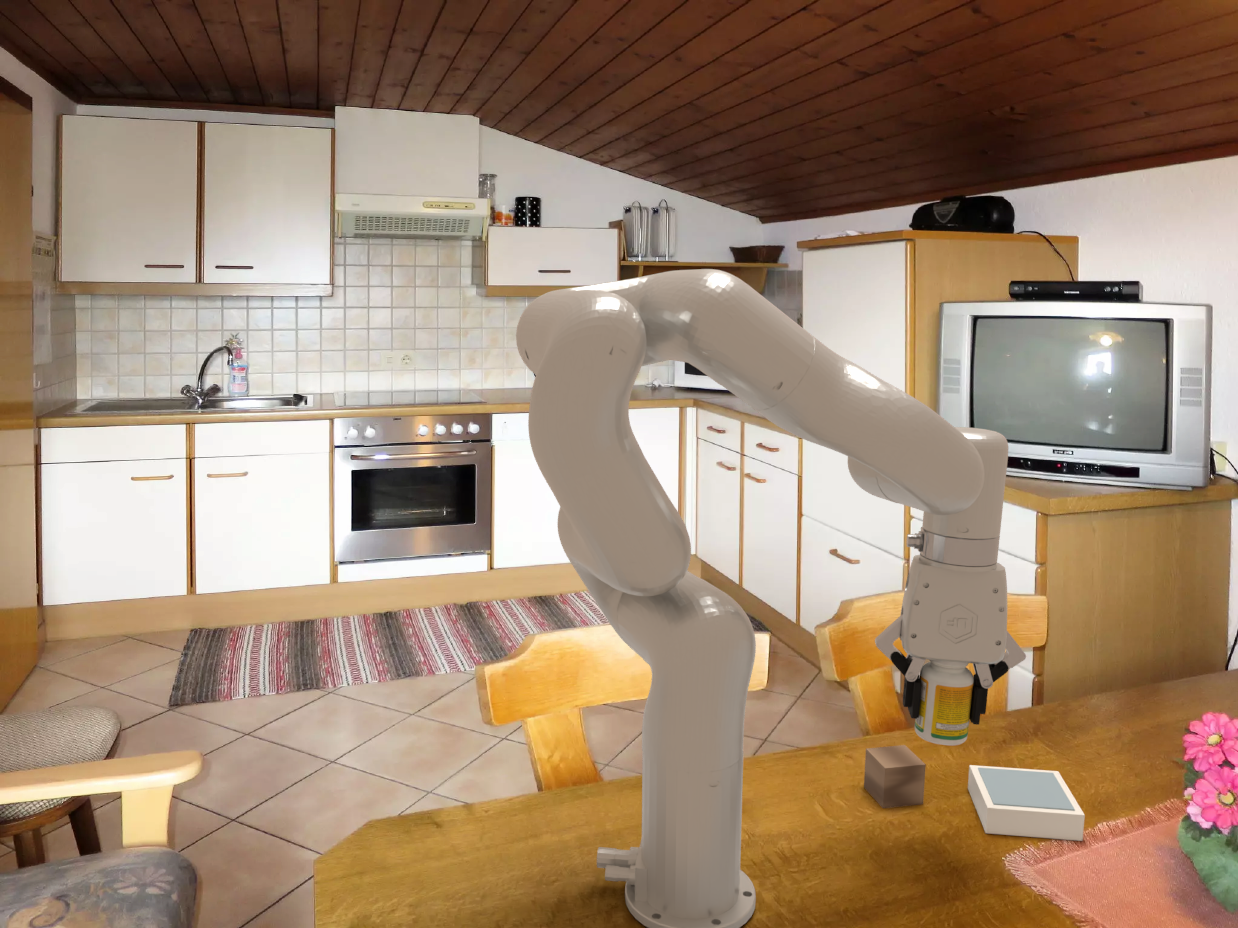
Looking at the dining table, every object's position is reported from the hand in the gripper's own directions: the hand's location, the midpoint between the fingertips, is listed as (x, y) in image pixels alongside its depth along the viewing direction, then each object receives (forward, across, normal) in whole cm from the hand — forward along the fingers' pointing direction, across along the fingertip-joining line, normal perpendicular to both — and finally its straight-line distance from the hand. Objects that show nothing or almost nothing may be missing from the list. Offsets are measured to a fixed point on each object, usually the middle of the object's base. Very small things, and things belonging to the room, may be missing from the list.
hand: (942, 714), depth 104 cm
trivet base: (+14, +11, +8) cm, 19 cm away
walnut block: (+14, -3, +10) cm, 18 cm away
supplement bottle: (+3, 0, 0) cm, 3 cm away
